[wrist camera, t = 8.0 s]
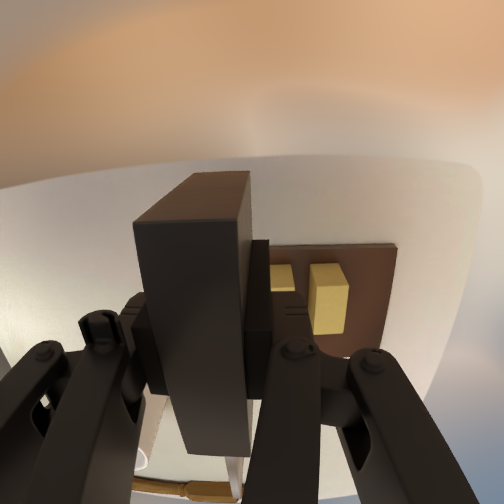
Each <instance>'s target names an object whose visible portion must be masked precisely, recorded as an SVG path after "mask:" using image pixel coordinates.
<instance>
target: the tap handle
mask: <svg viewBox="0 0 504 504" xmlns="http://www.w3.org/2000/svg"><path fill="white" fill-rule="evenodd" d="M132 490H135V491H143V492H151V493H161V494H173V495H180V496H181V497H184V496H186V497H188V498H189V499H190V500H192V501H199V502H216V503H217V502H218V503H236V502H237V501H238V500H239V499H234V498H233V495H232V491H231V486H230V482H206V481H190V482H189V483H188V484H187V485H185V484H183V483H181V484H180V485H177V484H169V483H163V482H156V481H150V480H145V479H139V478H134V477H133V483H132ZM243 492H244V489H243V488H242V492H241V498H242V497H243Z"/></svg>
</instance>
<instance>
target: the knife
mask: <svg viewBox="0 0 504 504" xmlns="http://www.w3.org/2000/svg"><path fill="white" fill-rule="evenodd" d="M133 231H134V237H135V244H136V250H137V256H138V262H139V267H140V273H141V278H142V283H143V289H144V294H145V299H146V303H147V308H148V313H149V317H150V322H151V326H152V331H153V335H154V339H155V343H156V348H157V352H158V356H159V359H160V363H161V367H162V371H163V375H164V378H165V382H166V386H167V389H168V393H169V396H170V400H171V403H172V406H173V410H174V413H175V416H176V419H177V423H178V426H179V429H180V432H181V435H182V438H183V441H184V444H185V447H186V450H187V453H188V454H195V455H208V456H224V457H225V461H226V466H227V471H228V476H229V481H230V486H231V491H232V495H233V498H234V499H241V492H242V476H243V461H244V457H250V456H251V440H252V418H253V400H250V399H248V397H247V380H246V363H245V345H244V322H245V312H246V301H247V290H248V279H249V268H250V258H251V247H252V211H251V178H250V171H225V172H202V173H194V174H192V175H191V176H190V177H188V178H187V179H186V180H184V181H183V182H182V183H181V184H179V185H178V186H177V187H176V188H174V189H173V190H172V191H171V192H169V193H168V194H167V195H166V196H164V197H163V198H162V199H161V200H159V201H158V202H157V203H156V204H154V205H153V206H152V207H151V208H150V209H148V210H147V211H146V212H145V213H144V214H142V215H141V216H140V217H139V218H138V219H136V220H135V221H134V222H133Z"/></svg>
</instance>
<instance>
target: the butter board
mask: <svg viewBox="0 0 504 504" xmlns="http://www.w3.org/2000/svg"><path fill="white" fill-rule="evenodd" d="M397 249H398V248H397V247H396V246H395V245H394V244H365V245H316V246H271V247H269V252H270V265H285V264H290V265H291V269H292V274H293V280H294V286H295V291H299V292H300V293H301V294H302V295H303V296H304V297H305V298H306V303H307V308H308V296H309V275H310V264H326V263H339V265H340V268H341V270H342V272H343V274H344V276H345V278H346V280H347V282H348V284H349V291H348V300H347V308H346V316H345V323H344V331H343V333H339V334H322V335H314V334H313V338H314V342H315V343H316V344H317V345H318V346H319V349H320V350H321V351H323V352H324V353H326V354H328V355H330V356H334V357H339V358H342V357H351V355H352V354H353V353H354V352H356V351H357V350H360V349H363V348H378V349H379V347H380V343H381V339H382V334H383V329H384V325H385V320H386V315H387V310H388V305H389V299H390V294H391V288H392V282H393V276H394V270H395V263H396V257H397ZM308 313H309V311H308ZM309 318H310V316H309ZM310 323H311V321H310ZM311 328H312V326H311ZM312 333H313V331H312Z"/></svg>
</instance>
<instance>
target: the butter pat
mask: <svg viewBox="0 0 504 504" xmlns="http://www.w3.org/2000/svg"><path fill="white" fill-rule="evenodd" d="M348 291H349V284H348V282H347V280H346V278H345V276H344V274H343V272H342V270H341V268H340V265H339V263H326V264H310V275H309V296H308V311H309V316H310V321H311V326H312V331H313V334H314V335H322V334H339V333H343V331H344V323H345V316H346V308H347V300H348Z"/></svg>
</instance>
